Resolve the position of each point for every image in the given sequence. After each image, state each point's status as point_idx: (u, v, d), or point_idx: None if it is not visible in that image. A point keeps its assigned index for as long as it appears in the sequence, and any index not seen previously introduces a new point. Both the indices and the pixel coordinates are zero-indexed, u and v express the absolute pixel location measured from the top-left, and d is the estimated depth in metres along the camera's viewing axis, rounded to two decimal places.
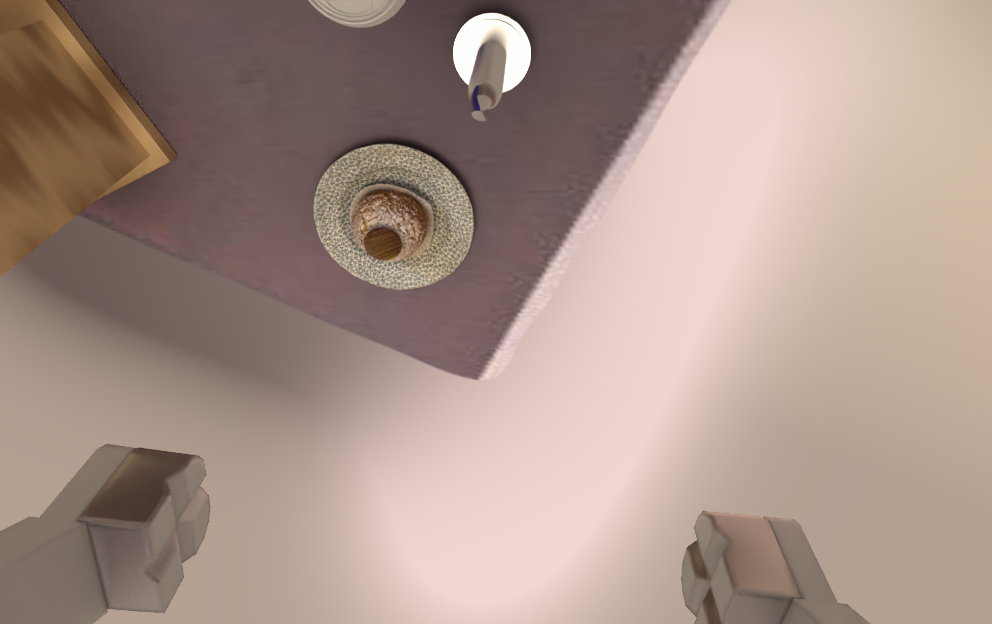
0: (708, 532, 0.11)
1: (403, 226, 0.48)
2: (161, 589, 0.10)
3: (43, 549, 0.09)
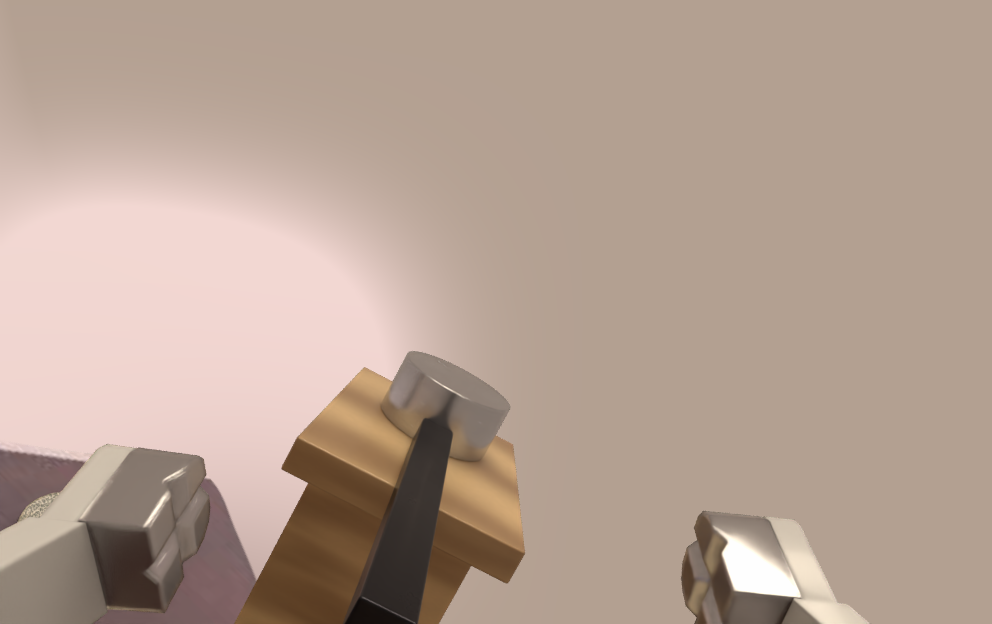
0: (708, 532, 0.11)
1: None
2: (161, 589, 0.10)
3: (43, 549, 0.09)
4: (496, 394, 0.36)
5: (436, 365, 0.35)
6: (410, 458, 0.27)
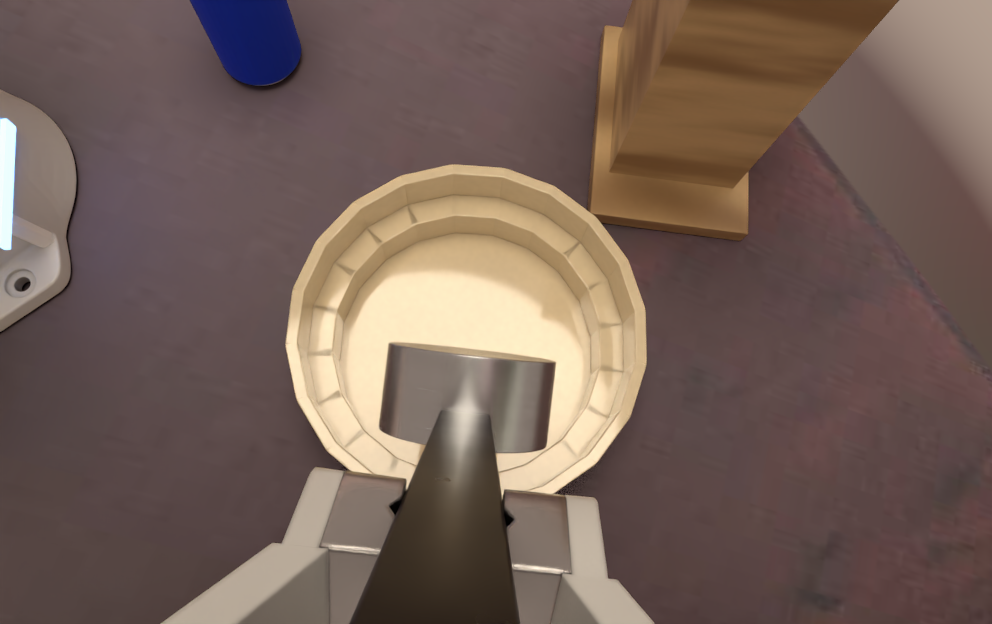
0: (503, 510, 0.10)
1: None
2: None
3: (298, 576, 0.09)
4: (530, 357, 0.25)
5: (435, 347, 0.25)
6: (428, 442, 0.16)
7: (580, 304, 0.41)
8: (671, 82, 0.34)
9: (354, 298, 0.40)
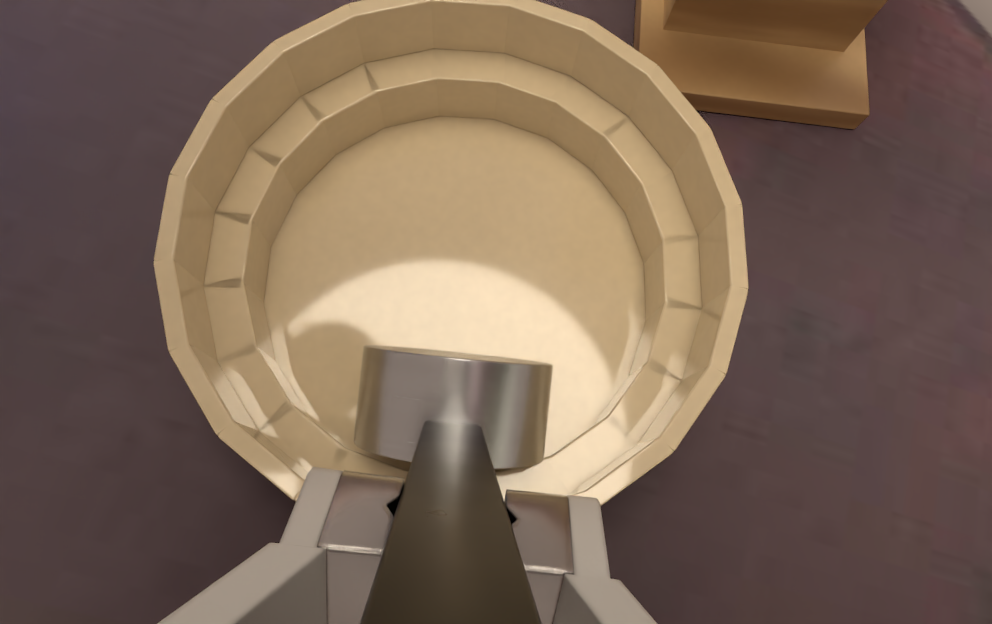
0: None
1: None
2: None
3: (295, 576, 0.09)
4: (523, 360, 0.23)
5: None
6: (413, 461, 0.13)
7: (627, 216, 0.27)
8: None
9: (287, 209, 0.26)
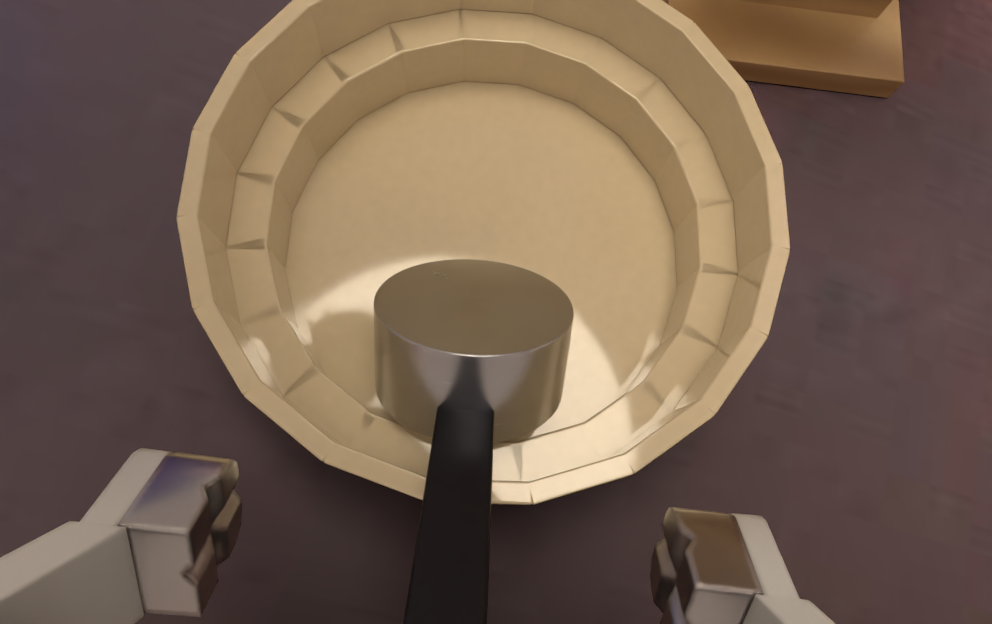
0: (674, 528, 0.11)
1: None
2: (198, 593, 0.10)
3: (85, 553, 0.09)
4: (545, 289, 0.21)
5: (430, 290, 0.21)
6: (411, 583, 0.14)
7: (656, 183, 0.26)
8: None
9: (309, 174, 0.26)
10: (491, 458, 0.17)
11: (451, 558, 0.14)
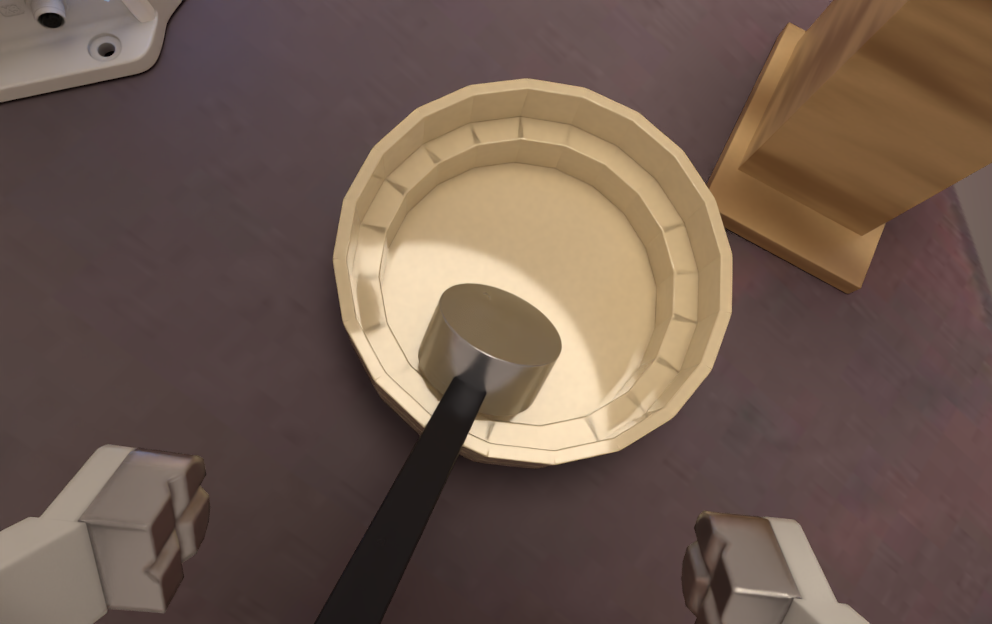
0: (708, 533, 0.11)
1: None
2: (161, 589, 0.10)
3: (43, 549, 0.09)
4: (549, 332, 0.32)
5: (477, 303, 0.31)
6: (407, 461, 0.24)
7: (656, 290, 0.36)
8: (859, 79, 0.29)
9: (427, 192, 0.36)
10: (474, 418, 0.27)
11: (432, 458, 0.25)
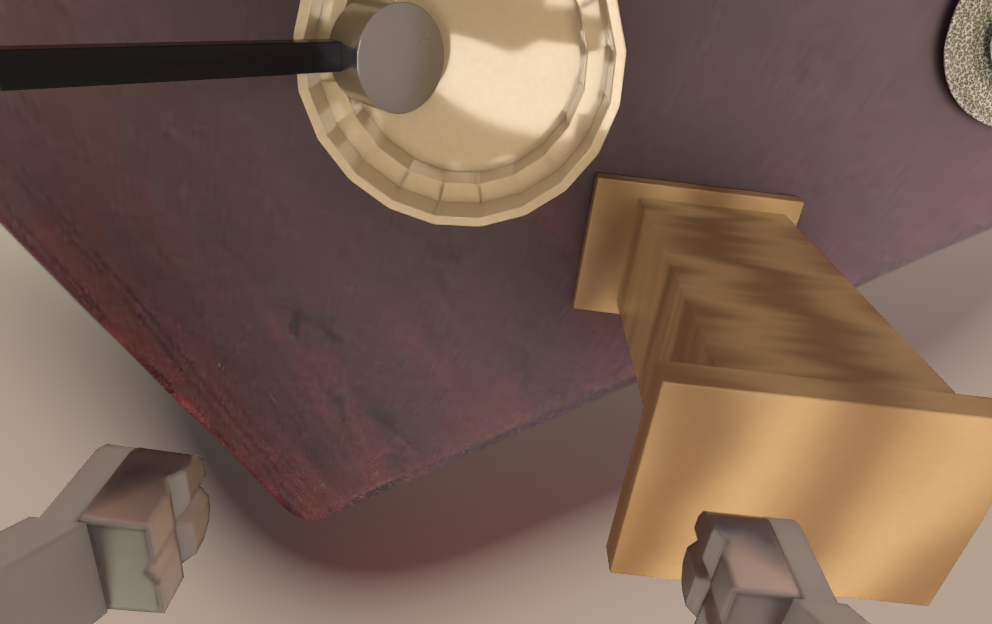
0: (708, 532, 0.11)
1: None
2: (161, 589, 0.10)
3: (43, 549, 0.09)
4: (417, 98, 0.40)
5: (410, 33, 0.38)
6: (237, 44, 0.34)
7: (510, 164, 0.45)
8: (661, 271, 0.38)
9: None
10: (309, 73, 0.37)
11: (251, 60, 0.34)
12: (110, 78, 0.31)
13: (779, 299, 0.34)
